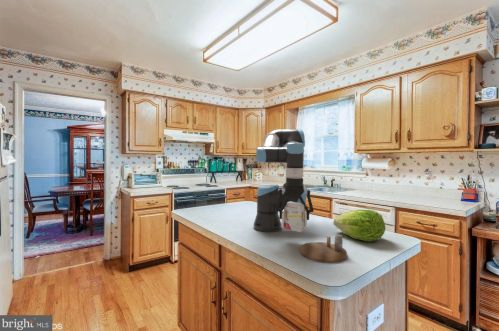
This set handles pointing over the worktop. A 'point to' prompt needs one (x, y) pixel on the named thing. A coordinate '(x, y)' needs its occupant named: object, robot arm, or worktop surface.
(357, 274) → the worktop surface
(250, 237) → the worktop surface
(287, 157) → the robot arm
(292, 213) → the ink box
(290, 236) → the worktop surface
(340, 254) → the disc
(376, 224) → the lettuce
